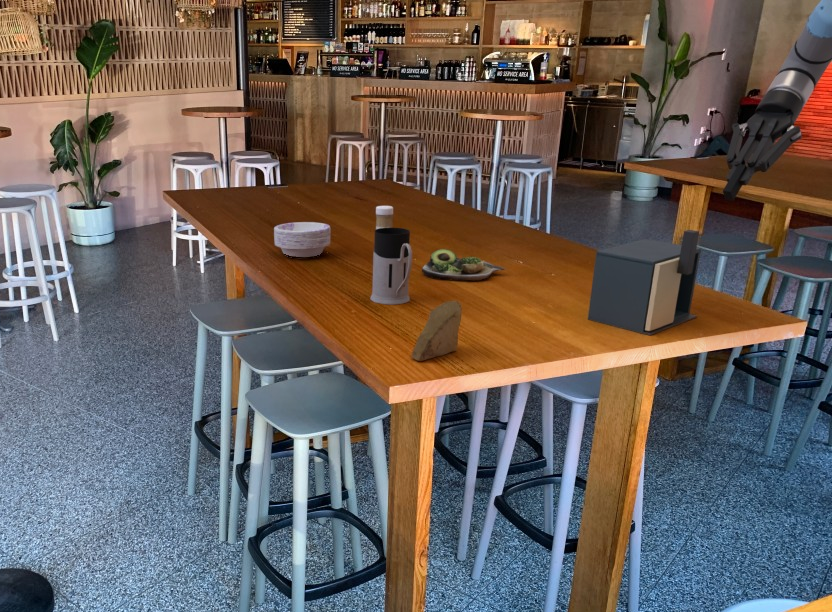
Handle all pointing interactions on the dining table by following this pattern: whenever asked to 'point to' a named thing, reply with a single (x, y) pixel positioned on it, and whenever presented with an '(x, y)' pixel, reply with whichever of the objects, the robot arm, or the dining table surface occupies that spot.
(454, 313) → the rock
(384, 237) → the glass holder
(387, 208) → the sprinkles bottle
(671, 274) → the sliding door
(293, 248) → the paper bowls
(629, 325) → the cabinet
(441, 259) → the salad plate
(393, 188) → the dining table surface
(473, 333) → the dining table surface
